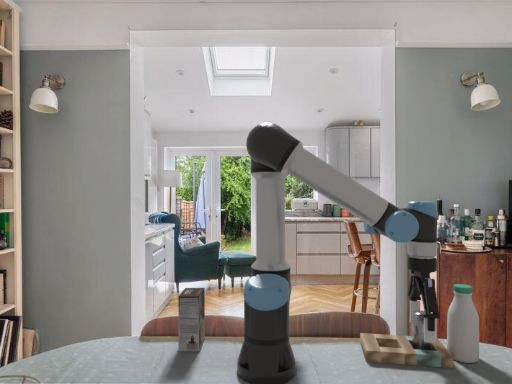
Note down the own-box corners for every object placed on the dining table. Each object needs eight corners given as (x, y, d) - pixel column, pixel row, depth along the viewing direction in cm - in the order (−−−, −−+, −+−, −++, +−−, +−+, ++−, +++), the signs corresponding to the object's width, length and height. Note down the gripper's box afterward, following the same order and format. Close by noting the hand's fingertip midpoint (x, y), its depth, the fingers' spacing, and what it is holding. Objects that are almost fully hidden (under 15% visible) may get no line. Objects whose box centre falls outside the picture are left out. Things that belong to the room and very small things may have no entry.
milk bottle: (484, 365, 93) (484, 290, 93) (452, 362, 95) (452, 288, 95) (472, 352, 101) (472, 282, 101) (443, 350, 102) (443, 281, 102)
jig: (365, 361, 95) (365, 350, 95) (360, 342, 107) (360, 332, 107) (453, 368, 91) (453, 356, 91) (437, 348, 103) (437, 337, 103)
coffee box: (184, 338, 110) (184, 287, 110) (205, 338, 110) (205, 287, 110) (177, 351, 101) (178, 295, 101) (200, 351, 101) (200, 296, 101)
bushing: (415, 359, 96) (415, 315, 96) (410, 351, 101) (410, 310, 101) (433, 360, 96) (433, 316, 96) (427, 352, 100) (427, 310, 100)
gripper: (454, 265, 85) (453, 353, 85) (422, 249, 110) (422, 317, 110) (421, 264, 87) (421, 350, 87) (397, 248, 111) (397, 315, 111)
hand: (421, 332), depth 98 cm, fingers open, 13 cm apart
